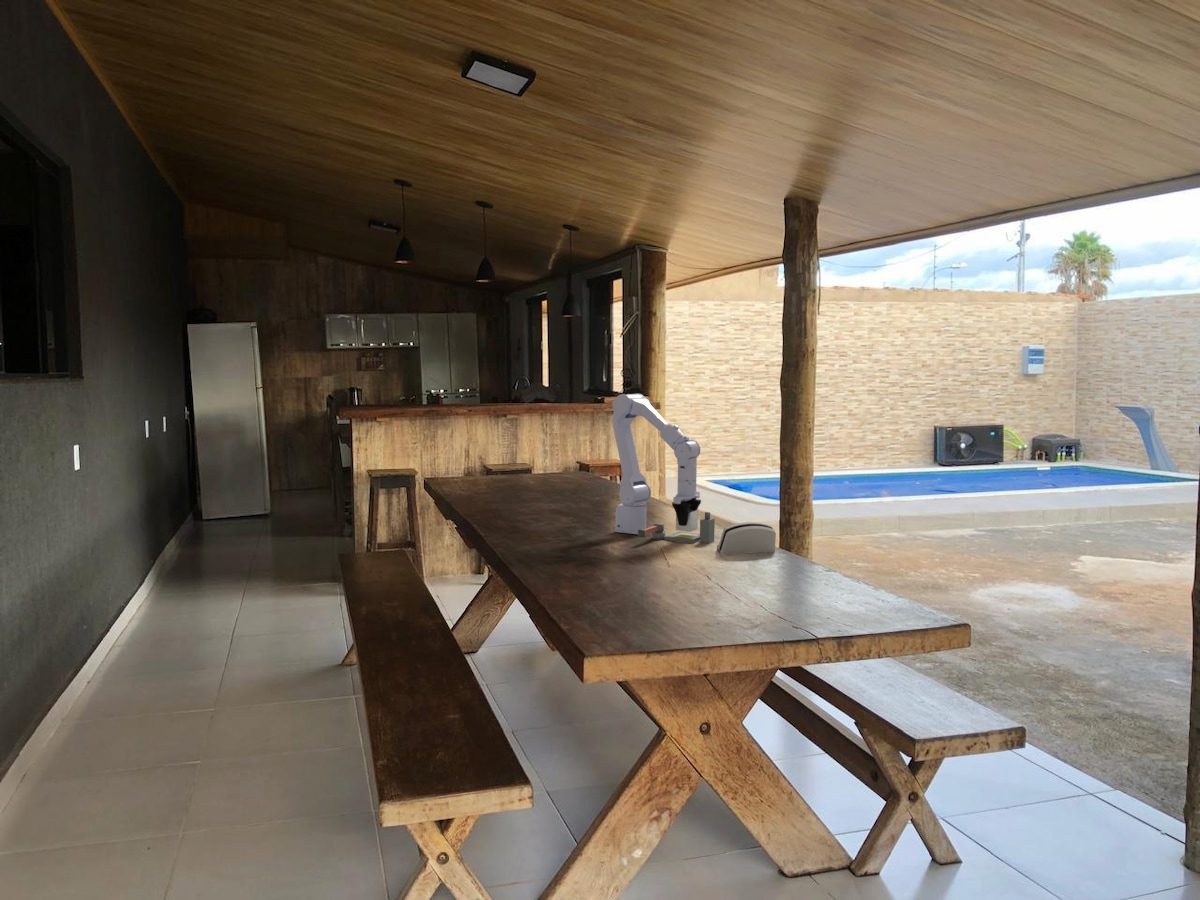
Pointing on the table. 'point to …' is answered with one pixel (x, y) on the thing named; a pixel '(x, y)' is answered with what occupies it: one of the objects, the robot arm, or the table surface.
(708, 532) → the press
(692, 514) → the block
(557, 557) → the table surface
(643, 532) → the lever
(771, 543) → the white arched thin slab
